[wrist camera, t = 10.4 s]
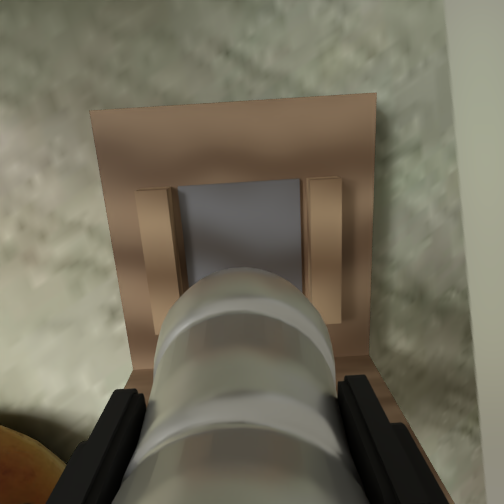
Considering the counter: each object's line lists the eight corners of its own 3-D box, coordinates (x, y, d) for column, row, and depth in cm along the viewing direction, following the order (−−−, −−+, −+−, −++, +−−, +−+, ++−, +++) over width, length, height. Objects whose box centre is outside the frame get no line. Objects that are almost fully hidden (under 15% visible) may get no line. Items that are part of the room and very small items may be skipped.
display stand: (103, 113, 26) (-111, 72, 10) (364, 96, 26) (545, 31, 10) (144, 367, 32) (44, 590, 16) (359, 353, 32) (471, 563, 16)
